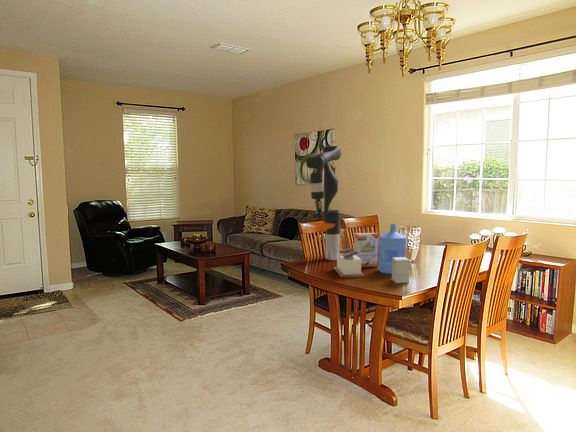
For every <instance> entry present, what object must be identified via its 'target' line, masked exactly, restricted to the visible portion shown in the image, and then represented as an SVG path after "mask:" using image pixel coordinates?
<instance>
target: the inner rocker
mask: <svg viewBox="0 0 576 432" xmlns="http://www.w3.org/2000/svg"><path fill="white" fill-rule="evenodd" d="M353 251H354V247H348V248H343V249H339V254H342V253H346V254H347V253H350V252H353Z"/></svg>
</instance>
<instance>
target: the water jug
mask: <svg viewBox="0 0 576 432" xmlns="http://www.w3.org/2000/svg"><path fill="white" fill-rule="evenodd" d="M396 225H397V224H396V223H390V227H389V228H390V230H389V231H388V232H385V233H382V234H380V235H379V236H378V266H377V267H378V268H377V269H378V272H380V273H382V274H387V275H392V257H406V249H407V237H406V235H404V234H402V233H400V232H398V231H397V230H396V229H397V227H396Z"/></svg>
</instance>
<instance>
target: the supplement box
mask: <svg viewBox="0 0 576 432" xmlns="http://www.w3.org/2000/svg"><path fill="white" fill-rule="evenodd" d="M410 260H411V259H409V258H407V257H406V256H405V257H392V274H391V280H392V281H393V282H394V283H395V284H408V283H410V262H411V261H410Z"/></svg>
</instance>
